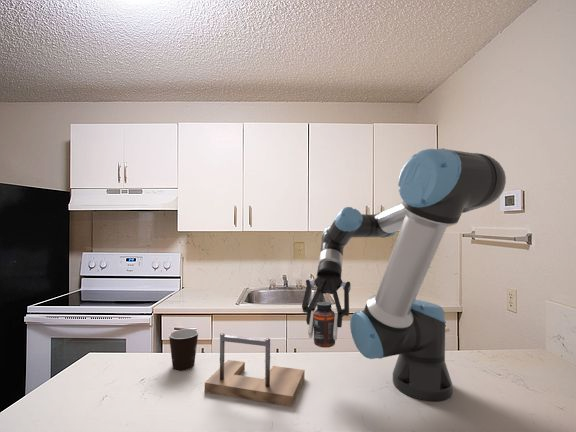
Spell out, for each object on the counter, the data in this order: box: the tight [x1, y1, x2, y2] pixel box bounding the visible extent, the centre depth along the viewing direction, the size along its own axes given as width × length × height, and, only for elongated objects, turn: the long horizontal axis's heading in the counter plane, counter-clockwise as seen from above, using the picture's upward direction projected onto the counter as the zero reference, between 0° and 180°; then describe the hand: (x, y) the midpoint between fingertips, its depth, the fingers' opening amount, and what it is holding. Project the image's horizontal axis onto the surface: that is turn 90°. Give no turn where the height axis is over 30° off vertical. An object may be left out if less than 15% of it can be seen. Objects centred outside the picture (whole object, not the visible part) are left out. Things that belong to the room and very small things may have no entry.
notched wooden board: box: [204, 359, 305, 408], centre depth 86 cm, size 24×14×2 cm, turn 75°
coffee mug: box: [168, 328, 199, 372], centre depth 98 cm, size 12×9×10 cm
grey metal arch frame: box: [219, 333, 271, 387], centre depth 83 cm, size 14×1×12 cm, turn 75°
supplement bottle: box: [313, 301, 336, 349], centre depth 86 cm, size 6×6×11 cm
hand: (322, 336), depth 83 cm, fingers closed on supplement bottle, 6 cm apart
